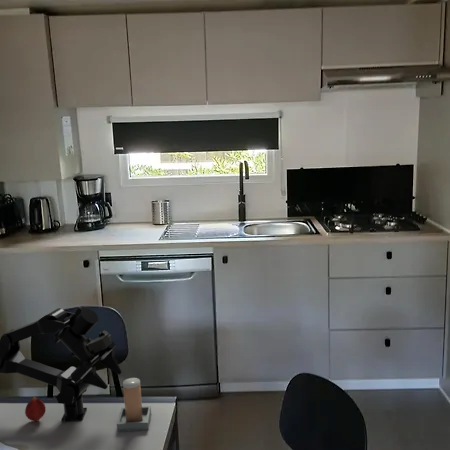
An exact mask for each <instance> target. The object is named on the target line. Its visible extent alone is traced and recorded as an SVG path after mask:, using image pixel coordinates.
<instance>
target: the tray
mask: <svg viewBox="0 0 450 450" xmlns="http://www.w3.org/2000/svg"><path fill="white" fill-rule="evenodd" d="M142 414H143V420H142V422H126V414H125V407H121V408H120V412H119V415H118V419H117V422H116V431H117V433H120V432H121V433H122V432H123V433H125V432H137V431H138V432H141V431H149V428H150V423H151V416H152V406H151V405H148V406H147V405H145V406H142Z"/></svg>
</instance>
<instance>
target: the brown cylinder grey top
mask: <svg viewBox="0 0 450 450" xmlns="http://www.w3.org/2000/svg"><path fill="white" fill-rule="evenodd" d="M122 387H123V389H122V390H123V399H124V400H123V401H124V408H125V414H126V422H142V420H143V414H142V407H143V404H142V401H143V400H142V388H141V379H139V378H137V377H129V378H126V379H124V380H123V382H122Z"/></svg>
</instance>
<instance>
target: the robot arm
mask: <svg viewBox="0 0 450 450" xmlns="http://www.w3.org/2000/svg"><path fill="white" fill-rule="evenodd" d="M98 321H99V316H98V313H96V311H94V310H92V309H90V308H85V307H84V306H83V305H81V306H80V307H78V308H77V309H76V311H75V312H69V311H66V310H64V308H61V307H60V308H59V307H58V308H56V309H54V310H53V311H51V312H49V313H47V314H45V315H44V316H43V317H40V318H39V319H38V320H36V321H35V320H34V321H33V322H30V323H27V324H25V325H22V326H20V327H17V328H15V329H10V330H9V331H6V332H5V333H3V334H2V335H1V336H0V374H3V375H5V374H6V375H8V374H19V375H22V376H24V377H27V378H30V379H32V380H37V381H39V382H42V383H45V384H48V385H51V386H53V387H56V389H57V390H58V392H59V393H58V394H57V395H56V396H55V398H56V401H57V403H58V404H63V415H62V417H61V422H72V421H82V420H84V418H85V415H86V412H87V409H88V407H84V402H83V401H84V400H83V395H84V394H85V393H86V392H87V390H88V388H89V387H90V386H94V387H97V388H99V389H102V390H107V389H108V385H107V384H106V382H105V381H104V380H103V378H102V377H100V375H99V374H98V373H97V369H96V368H97V367H96V365H94V364H96V363H97V362H98V361H100V364H102V365H103V366H104V367H106V368H108V369H109V370H110V371H112V372H113V373H116V374H117V375H121V374H122V370H121V368H120V365H119V363H118V361H117V359H116V355H115V352H116V351H115V350H116V345H117V344H116V343H115V342H114V341H113V340H111V339H112V334H110V332H108V331H107V330H106V329H105V330H103V331H101V332H99V333H98V337H97V338H95V339H93V338H92V337H91V336H88V337H86V336H85V335H86V334H88V333H89V332H90V331H91V330H92V328H93V327H94V326H96V324H97V323H98ZM58 330H61V331H58ZM54 333H55V334H54ZM40 334H42V335H47V334H53V336H54V339H53V341H54V344H57V343H59V342H60V341H61V342H62V343H63V345H64V346H66V348H67V349H68V350H69V351H70V352H71V353H70V357H72V358H74V357H76V358H77V359H78V360H79V362H81V363H80V364H79V365H78V366H77V367H75V366H70V367H69V368H67V369H66V370H61V369H58V368H56V367H53V366H49V365H46V364H43V363H41V362H37V361H35V360H31V359H29V358H25V356H24V355H23V353H22V352H21V351H20V349H21V344H20V341H23V340H26V339H29V338H31V337H34V336H37V335H40ZM93 365H94V366H93Z"/></svg>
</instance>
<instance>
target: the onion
mask: <svg viewBox="0 0 450 450" xmlns="http://www.w3.org/2000/svg"><path fill="white" fill-rule="evenodd" d="M46 411H47V409H46V404H45V402H43V401H42V400H40V399H39V398H38V397H37V396H33V397H32V399H31V400H30V401H28V403H27V404H26V406H25V409H24V415H25V417H26V418H27V419H28V420H29V421H33V422H39V421H40V420H41V419H42V417H44V416H45V414H46Z"/></svg>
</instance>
